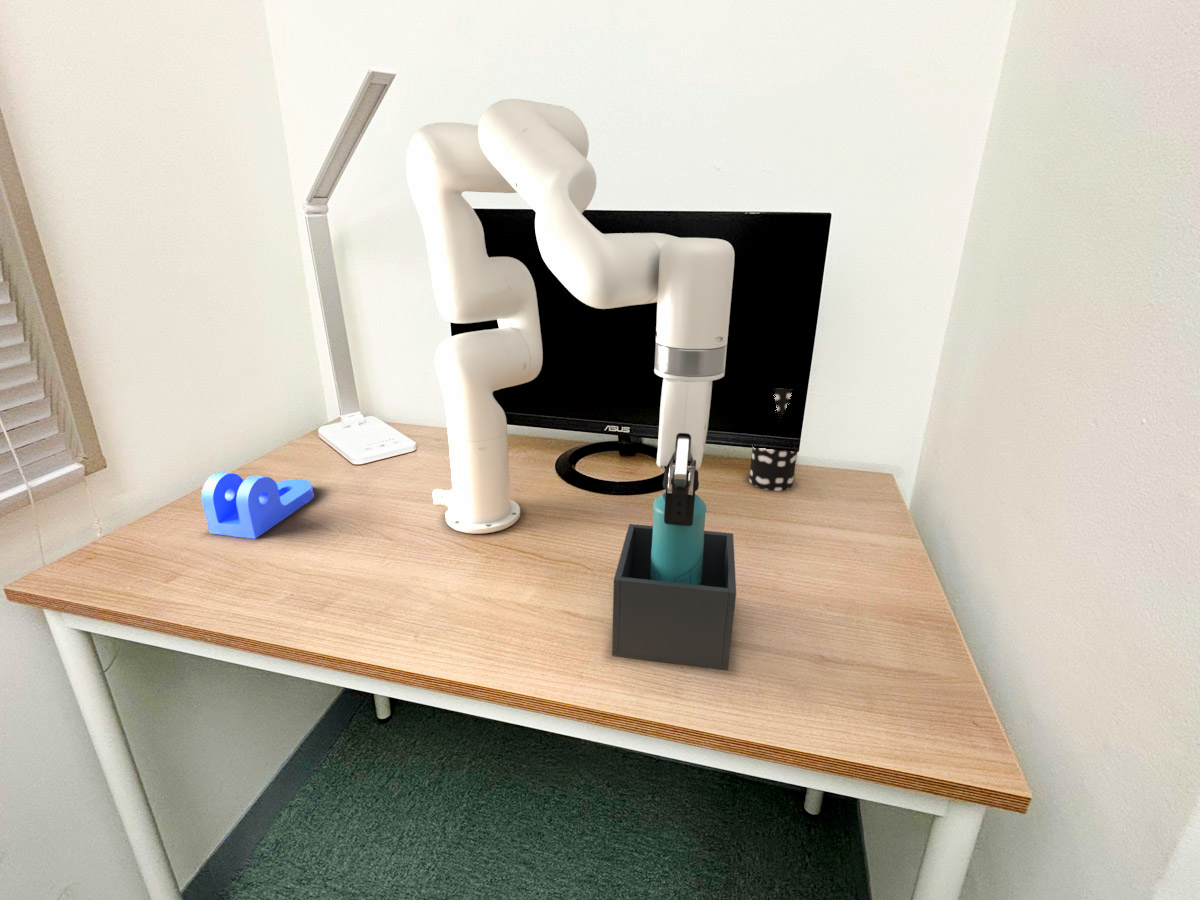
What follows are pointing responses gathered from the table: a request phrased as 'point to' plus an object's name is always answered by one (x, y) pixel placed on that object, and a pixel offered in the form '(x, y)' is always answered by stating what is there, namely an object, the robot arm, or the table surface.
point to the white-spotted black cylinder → (774, 457)
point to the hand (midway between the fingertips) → (680, 508)
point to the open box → (674, 605)
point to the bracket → (251, 503)
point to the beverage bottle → (678, 542)
